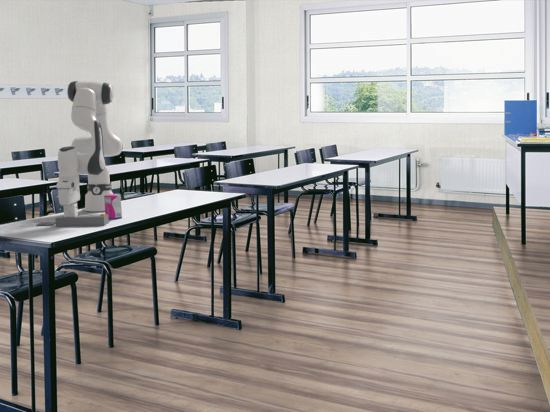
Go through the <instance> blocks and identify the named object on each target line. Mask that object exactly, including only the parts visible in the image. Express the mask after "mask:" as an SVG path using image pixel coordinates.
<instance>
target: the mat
mask: <svg viewBox="0 0 550 412" xmlns="http://www.w3.org/2000/svg"><path fill="white" fill-rule="evenodd" d="M35 225H36V227H38V226H39V227H44V226H45V227H50V226H55V221H54V222H53V221H52V222H51V221H50V222H44V221H43V222H42V221H41V222H39V223H37V224H35Z"/></svg>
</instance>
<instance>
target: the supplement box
mask: <svg viewBox="0 0 550 412" xmlns="http://www.w3.org/2000/svg"><path fill="white" fill-rule="evenodd" d="M104 202H105V211H104V213H105V214H108V218H110V219H111V220H118V219H122V218H123V213H122V212H123V211H122V197H121V194H114V193H113V194H112V195H104Z"/></svg>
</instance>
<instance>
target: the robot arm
mask: <svg viewBox="0 0 550 412" xmlns="http://www.w3.org/2000/svg"><path fill="white" fill-rule="evenodd" d="M66 93H67V94H66V95H67V98H68V100H70V102H71V103H72V107H71V114H70V118H71V121H72V123H73V125H74V126H76V127H77V128H78V129H80V130H82V131H85V132H88V133H89V134H90V135H87V136H86V135H83V136H80V137H79V136H78V137H75V138H74V139H73V140H72V142H71V146H63V147H60V148H59V149H58V153H57V168H58V172H59V173H58V180H57V183H56V189H57V196H58V203H59V205H60V206H62V207H63V206H64V208H63V210H64V209H65V214H66V215H69V214H70V210H69V205H70V204H76V203H77V204H78V201H80V200H81V193H80V191H81V190H80V175H87V182H88V183H87V186H86V187H87V193H85V195H84V197H85V199H84V200H85V201H84V202H85V203H84V204H85V205H84V207H83V208H82V211H84V212H85V211H87V212H105V202H104V195H112V194H114V193H113V191H112V183H111V181H110V178H111V177H110V169H109V167H108V166H107V165H106V160H105V157H106V158H107V157H109V158H110V157H115V156H119V155H120V154H121V153H122V152H123V148H124V147H123V142H122V141H123V140H121V139H120V137H118V136H117V135H115V134H114V133H113V132H112V130H111V129H110V126H109V122H108V112H107V111H108V110H107V108H108V107H107V105H108V104H109V105H110V103H112V102H113V98H114V96H115V95H114V94H115V93H114V88H113V86H112V85H111V84H110V83H107V82H100V81H92V80H91V81H86V80H84V81H83V80H82V81H79V80H74V81H71V82H70V83H69V84H68V86H67V91H66Z"/></svg>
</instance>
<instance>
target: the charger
mask: <svg viewBox="0 0 550 412" xmlns="http://www.w3.org/2000/svg"><path fill="white" fill-rule="evenodd" d="M62 207H63V215H64V217H77V216H78V215H79V212H78V202H77V203H76V204H70V205H69V210H70V214H69V215H66V214H65V209H64V206H62Z"/></svg>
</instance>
